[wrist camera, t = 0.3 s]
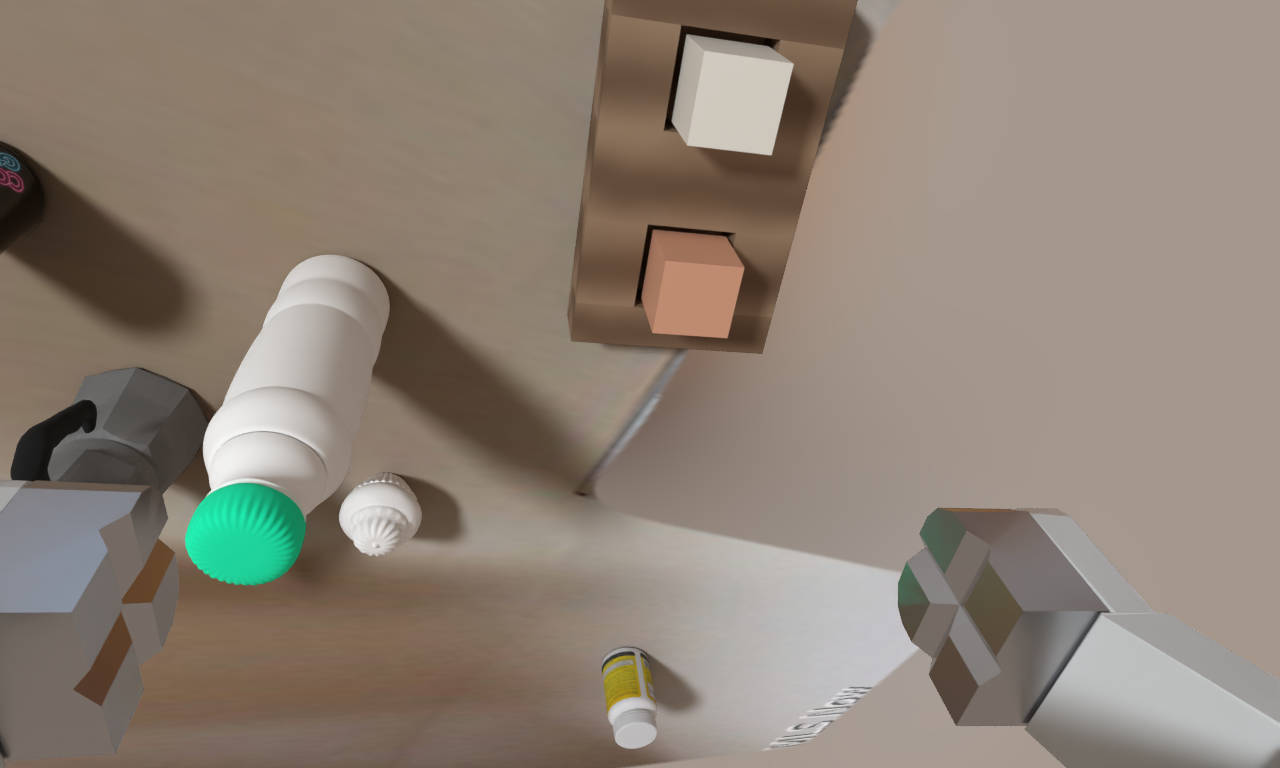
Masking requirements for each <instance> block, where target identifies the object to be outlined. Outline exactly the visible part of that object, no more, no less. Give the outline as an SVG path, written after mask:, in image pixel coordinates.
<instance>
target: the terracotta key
mask: <svg viewBox="0 0 1280 768" xmlns="http://www.w3.org/2000/svg"><path fill="white" fill-rule="evenodd" d="M743 272H744V266H743V264H742V263H741V261H740V259H739V258H738V256H737V254H736V253H735V251H734V249H733V248H732V246H731V244H730V243H729V241H728V239H727V238H726V236H716V235H705V234H695V233H684V232H674V231H663V230H653V232H652V238H651V244H650V250H649V256H648V261H647V267H646V273H645V279H644V285H643V290H642V296H641V299H642V302H643V305H644V308H645V311H646V314H647V318H648V321H649V324H650V327H651V330H652V333H658V334H673V335H687V336H702V337H716V338H728V334H729V330H730V326H731V322H732V317H733V313H734V309H735V305H736V301H737V297H738V293H739V288H740V284H741V280H742V276H743Z"/></svg>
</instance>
